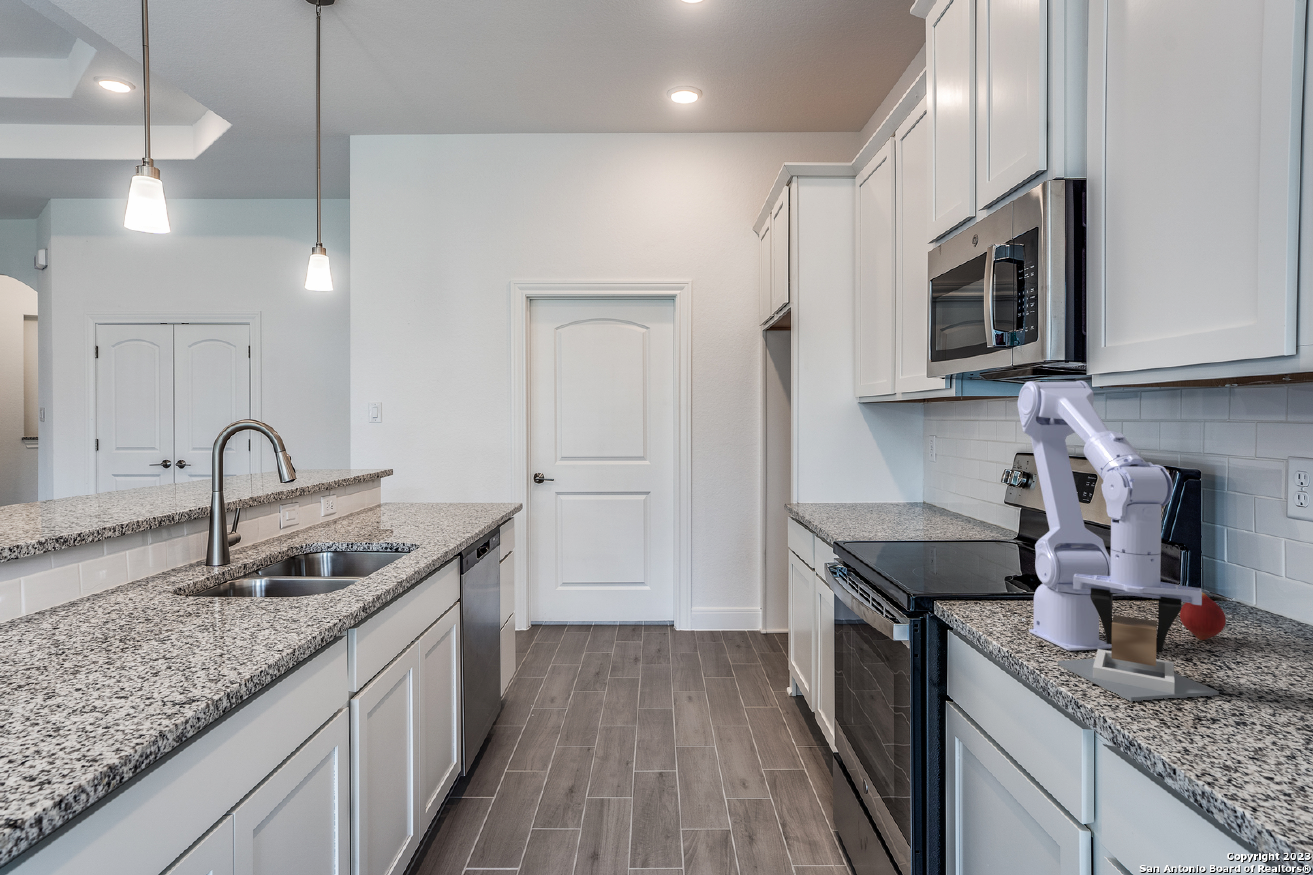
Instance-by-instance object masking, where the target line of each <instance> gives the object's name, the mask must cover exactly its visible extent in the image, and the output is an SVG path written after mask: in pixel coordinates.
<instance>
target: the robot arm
mask: <svg viewBox="0 0 1313 875" xmlns="http://www.w3.org/2000/svg"><path fill="white" fill-rule="evenodd" d="M1094 397H1095V396H1094V391H1093V390H1092V388H1091V387H1090V386H1089V384H1088V383H1087V382H1086V381H1084V380H1076V381H1042V382H1041V381H1038V382H1037V381H1034V380H1033V381H1026V382H1025V383H1024V384H1023V386H1022V387H1021V388H1020V391H1019V394H1018V399H1017V410H1018V414H1019V415H1018V416H1019V419H1020V424H1021V428H1022V432H1023V433H1024V434H1026V435H1028V436H1029V438H1030V441H1031V447H1032V452H1033V456H1034V462H1035V465H1036V470H1037V476H1038V481H1039V485H1040V490H1041V496H1042V499H1043V504H1044V505H1043V506H1044V509H1045V510H1044V511H1045V513H1046V514H1045V515H1046V520H1047V523H1048V528H1049V531H1047V533H1045V534H1044V535H1042V536H1041V537H1040V538H1038V540H1037V541H1036V543H1035V544H1034V548H1035V560H1034V561H1035V562H1034V563H1035V565H1034V567H1035V572H1036V575H1037V577H1038V579H1039V581H1040V582H1041V584H1040V585H1038V587H1037V588H1036V589H1035V592H1034V595H1033V628H1030V629H1028V632H1029V633H1030V634H1032V635H1035V636H1037V637H1038V638H1040V639H1043V640H1045V641H1047V642H1050V643H1051V644H1054V645H1055V646H1058V647H1060V648H1061V649H1064V650H1067V651H1088V650H1089V651H1090V650H1098V649H1101V650H1107V649H1112V621H1113V603H1114V602H1113V597H1114V594H1118V595H1119V594H1120V595H1125V596H1126V595H1127V596H1133V597H1134V596H1135V597H1142V598H1151V599H1157V600H1158V604H1157V605H1158V609H1157V612H1158V613H1157V616H1158V618H1157V620H1158V621H1157V639H1156V653H1159V654H1162V653H1163V649H1164V645H1165V641H1166V638H1167V636H1168V633H1169V631H1170V629H1171V627H1172V626H1173V622H1175V620H1176V618H1177V617H1178V616H1179V615H1180V611H1181V608H1182V603H1186V602H1187V603H1191V604H1194V605H1202V592H1203V590H1202V588H1201V587H1194V586H1193V587H1192V586H1187V585H1186V586H1185V585H1179V584H1174V583H1169V582H1163V581H1161V564H1162V563H1161V559H1162V556H1161V555H1162V507H1164V506H1166V505H1167V504H1168V503H1169V502H1170V501H1171V499H1172V496H1173V493H1174V486H1173V480H1172V477H1171V475H1170V474H1169V472H1168V470H1167V469H1166V467H1164V466H1163V465H1159V464H1153V463H1152V462H1149V461H1148V462H1146V460H1144V459H1143V456H1141V455H1140V453H1138V451H1137V450H1136V449H1135V448H1134V447H1133V445H1132V444H1131V443H1130V442H1129V441H1128V440H1127V438H1126V436H1124V434H1123V433H1122V432H1118V431H1114V430H1109V429H1108V428H1107V425H1106V424H1105V423H1104V421H1103V420H1102V419H1101V417H1100V415H1099V413H1098V411H1097V410H1096V409H1095V408H1094V402H1095V401H1094V399H1095V398H1094ZM1075 433H1076V435H1078V436H1079V438H1080V439H1081V440H1082V441H1083V442H1084V443H1085V444H1084V447H1083V455H1084V456H1085V458H1086V460H1087V461H1089V463H1090V464H1091V466H1092V467H1093V469H1094V470H1095V471H1096V472H1097V475H1098V476H1099V477H1100V478H1101V479H1102V481H1103V482H1102V483H1101V493H1102V496H1103V498H1104V500H1105V504H1106V514H1107V517H1109V518H1111V519H1110V554H1109V553H1108V551H1107V549H1106V546H1105V543H1104V540H1103V538H1102V537H1100V536H1098V535H1097V534H1096V533H1094V532H1093V531H1091V530H1089V529H1087V528H1086V527H1085V522H1084V518H1083V512H1082V510H1081V509H1082V508H1081V504H1080V501H1079V500H1080V499H1079V496H1078V491H1077V487H1076V483H1075V482H1076V481H1075V478H1074V473H1073V470H1072V465H1071V461H1070V460H1071V459H1070V457H1069V456H1070V455H1069V452H1068V448H1067V443H1066V439H1067V437H1068V436H1070V435H1073V434H1075ZM1100 621H1101V624H1102V627H1103V630H1104V635H1105V641H1104V640H1101V639H1100Z"/></svg>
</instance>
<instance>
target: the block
mask: <svg viewBox="0 0 1313 875" xmlns="http://www.w3.org/2000/svg"><path fill="white" fill-rule="evenodd" d="M1157 630H1158V621H1157V620H1152V619H1148V618H1147V619H1145V618H1140V617H1132V616H1125V615H1118V614H1113V616H1112V648H1111V650H1110V651H1111V658H1112V659H1118V660H1123V661H1129V662H1134V663H1140V664H1145V665H1151V666H1156V659H1157V652H1156V639H1157Z"/></svg>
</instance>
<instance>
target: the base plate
mask: <svg viewBox="0 0 1313 875" xmlns="http://www.w3.org/2000/svg"><path fill="white" fill-rule="evenodd" d="M1111 651H1112V650H1107V649H1097V651H1096V655H1095V657H1094V658H1083V659H1067V660H1066V659H1065V660H1063V659H1062V660H1057V665H1058V666H1059V667H1062V668H1064V669H1066V670H1067V671H1069V672H1071V673H1073V674H1076V675H1077V676H1078V677H1081V678H1083V679H1085V680H1087V681H1089V682H1091V683H1093V684H1095V685H1097V686H1099V687H1101V688H1103V689H1104V690H1107V691H1108V692H1110V691H1111V692H1110V693H1112V692H1113V693H1112V694H1114V693H1116V694H1118V695H1119V696H1118V695H1117V696H1118V697H1121V698H1123V699H1124V698H1125V699H1124V700H1126V699H1127V701H1128V700H1129V702H1130V703H1133V701H1135V702H1136V701H1137V702H1144V701H1143V700H1151V701H1153V700H1152V699H1163V698H1164V699H1165V698H1180V699H1188V698H1187V697H1194V698H1200V697H1199V696H1208V697H1214V696H1213V695H1219V694H1220V692H1219V690H1216V689H1214V688H1212V687H1209V686H1208V685H1205V684H1203V683H1200V682H1198V681H1195V680H1193V679H1191V678H1188V677H1186V676H1184V675H1181V674H1179V673H1176V672H1175V663H1174V661H1169V660H1163V659H1157V658H1156V666H1151V665H1145V664H1140V663H1134V662H1129V661H1123V660H1118V659H1112V658H1111ZM1116 694H1115V695H1116ZM1197 696H1198V697H1197ZM1219 696H1220V695H1219ZM1141 700H1142V701H1141ZM1165 700H1166V699H1165ZM1135 702H1134V703H1135Z"/></svg>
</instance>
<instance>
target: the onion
mask: <svg viewBox="0 0 1313 875" xmlns="http://www.w3.org/2000/svg"><path fill="white" fill-rule="evenodd" d="M1179 618H1180V622H1181V624H1182V625H1183V626H1184V627H1185V628H1186V629H1187V630H1188V631H1189V632H1190V633H1191V634H1193V635H1194V636H1195V637H1196V638H1197V639H1198V640H1201V641H1205V640H1207V639H1211V638H1214V637H1215V636H1217V635H1219V634H1220V633H1221V632H1222V631H1223V630H1224V628H1225V627H1226V622H1227V620H1226V618H1227V617H1226V615H1225V612H1224V610H1223V608H1222V607H1221V606H1220V605H1219V604H1218V603H1217V602H1216V601H1214V600H1213V599H1211V598H1210V597H1209V596H1208V595H1207V594H1206V593H1205V592H1203V591H1202V605H1194V604H1191V603H1187V602H1184V603H1183V605H1181V611H1180V612H1179Z"/></svg>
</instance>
